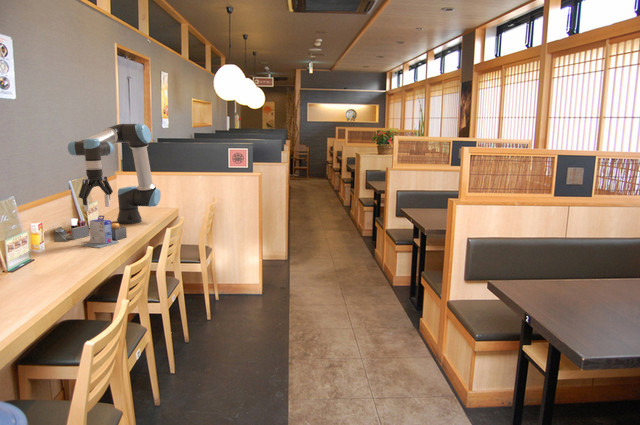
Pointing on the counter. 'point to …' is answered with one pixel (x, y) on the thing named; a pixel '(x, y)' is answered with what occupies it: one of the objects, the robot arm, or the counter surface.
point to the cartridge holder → (80, 232)
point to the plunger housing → (118, 233)
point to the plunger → (115, 225)
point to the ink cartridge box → (100, 231)
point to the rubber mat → (98, 245)
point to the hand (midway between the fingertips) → (97, 208)
